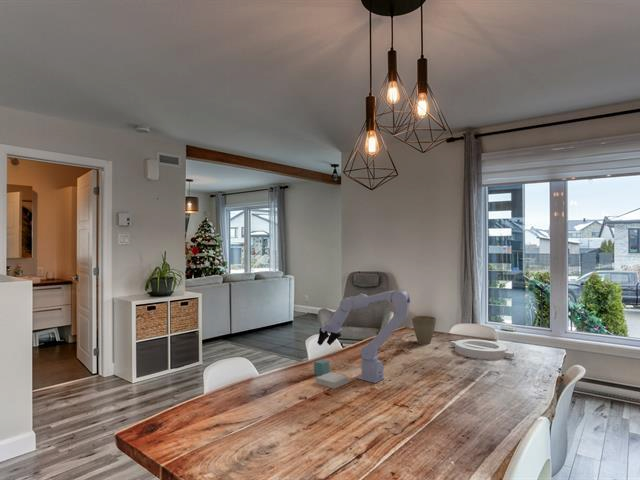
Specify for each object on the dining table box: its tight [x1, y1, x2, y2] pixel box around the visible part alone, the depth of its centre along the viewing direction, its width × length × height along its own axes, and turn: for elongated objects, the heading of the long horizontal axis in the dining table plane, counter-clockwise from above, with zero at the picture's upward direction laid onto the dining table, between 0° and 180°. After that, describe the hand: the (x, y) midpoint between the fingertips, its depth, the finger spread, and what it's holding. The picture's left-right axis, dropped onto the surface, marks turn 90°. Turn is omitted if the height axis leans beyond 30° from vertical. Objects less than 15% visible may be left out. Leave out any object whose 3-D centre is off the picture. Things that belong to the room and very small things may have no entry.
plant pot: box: [411, 315, 437, 345], centre depth 250 cm, size 15×15×16 cm
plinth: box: [315, 371, 349, 389], centre depth 173 cm, size 10×10×2 cm
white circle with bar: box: [450, 338, 515, 360], centre depth 227 cm, size 28×28×5 cm
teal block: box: [313, 359, 330, 377], centre depth 184 cm, size 5×5×6 cm
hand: (323, 343), depth 188 cm, fingers open, 7 cm apart
